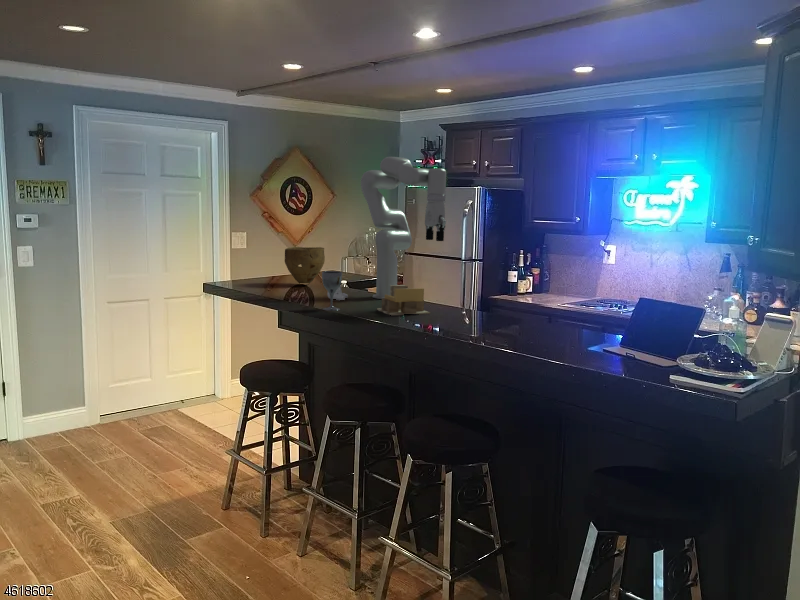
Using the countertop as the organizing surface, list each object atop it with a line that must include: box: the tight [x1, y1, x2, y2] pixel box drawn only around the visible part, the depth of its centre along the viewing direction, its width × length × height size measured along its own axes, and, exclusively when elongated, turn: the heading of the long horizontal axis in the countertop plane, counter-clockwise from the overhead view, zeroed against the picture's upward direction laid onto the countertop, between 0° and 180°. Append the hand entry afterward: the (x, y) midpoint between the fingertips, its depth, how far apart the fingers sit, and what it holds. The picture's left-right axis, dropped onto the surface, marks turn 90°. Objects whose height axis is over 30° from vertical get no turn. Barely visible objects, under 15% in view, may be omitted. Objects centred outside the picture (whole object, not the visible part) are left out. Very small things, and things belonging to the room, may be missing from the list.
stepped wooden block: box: [376, 284, 431, 316], centre depth 260 cm, size 15×17×10 cm
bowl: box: [284, 246, 325, 284], centre depth 337 cm, size 21×20×20 cm
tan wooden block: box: [385, 287, 425, 302], centre depth 259 cm, size 11×12×5 cm
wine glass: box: [321, 270, 343, 311], centre depth 261 cm, size 8×8×15 cm
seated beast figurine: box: [326, 286, 348, 301], centre depth 291 cm, size 10×9×12 cm
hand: (434, 240), depth 271 cm, fingers open, 9 cm apart
